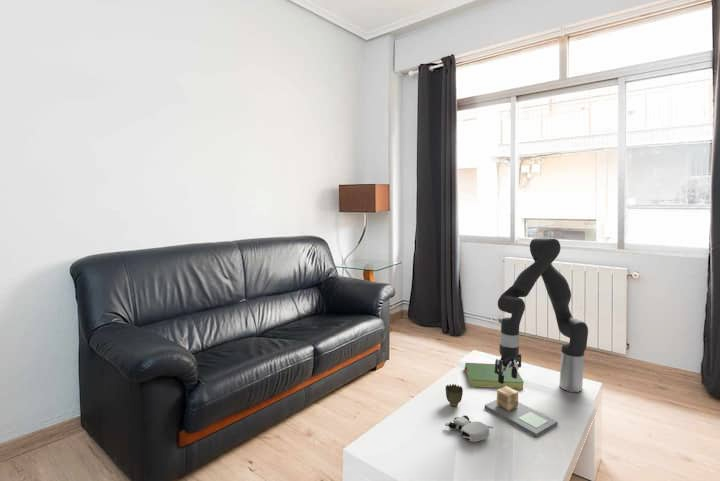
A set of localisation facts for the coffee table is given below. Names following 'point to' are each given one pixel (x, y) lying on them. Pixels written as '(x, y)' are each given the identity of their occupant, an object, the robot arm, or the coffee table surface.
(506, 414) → the post board
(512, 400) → the cardboard box
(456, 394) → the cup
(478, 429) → the robot toy
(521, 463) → the coffee table surface
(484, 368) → the hardcover book
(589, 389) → the coffee table surface
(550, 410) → the coffee table surface
